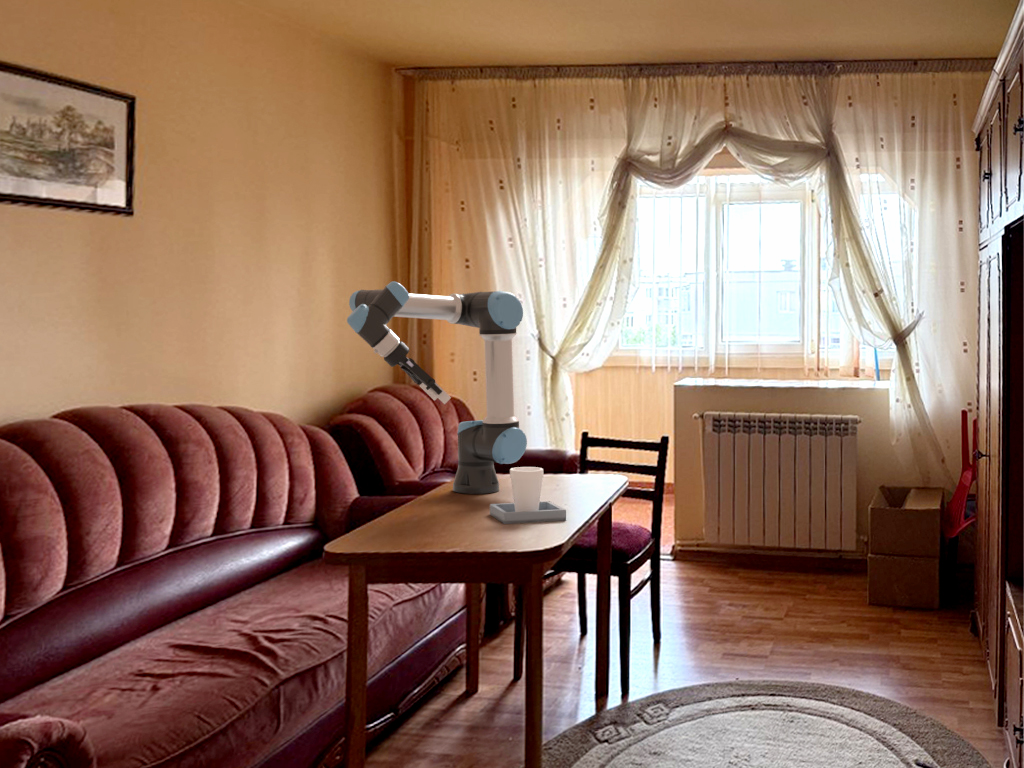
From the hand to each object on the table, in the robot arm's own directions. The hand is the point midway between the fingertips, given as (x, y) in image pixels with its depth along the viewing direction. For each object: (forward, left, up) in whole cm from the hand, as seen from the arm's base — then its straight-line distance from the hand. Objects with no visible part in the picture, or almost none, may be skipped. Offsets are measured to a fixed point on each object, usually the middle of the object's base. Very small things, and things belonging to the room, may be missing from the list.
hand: (442, 399), depth 336 cm
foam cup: (+21, +20, -32) cm, 43 cm away
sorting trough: (+21, +20, -33) cm, 44 cm away
